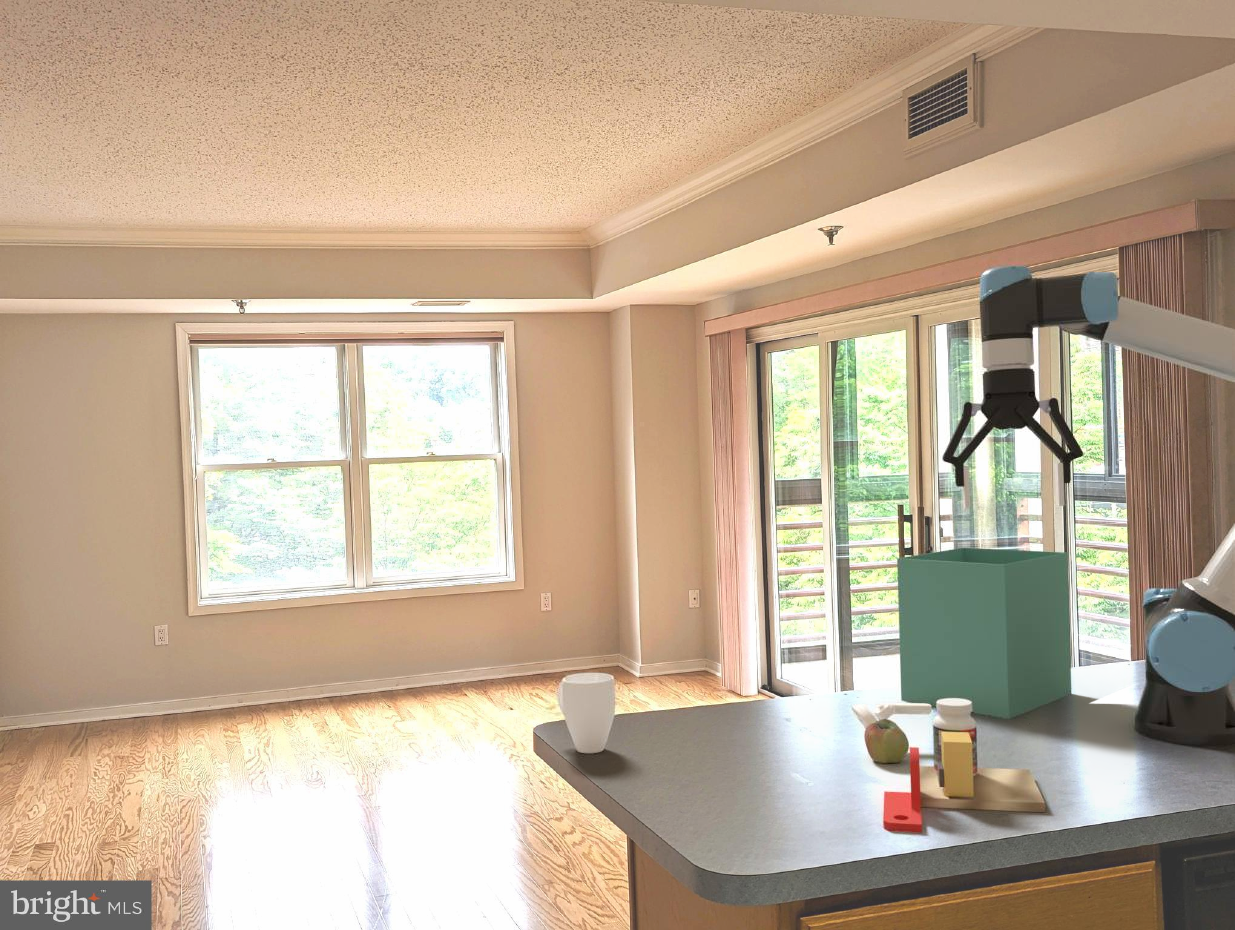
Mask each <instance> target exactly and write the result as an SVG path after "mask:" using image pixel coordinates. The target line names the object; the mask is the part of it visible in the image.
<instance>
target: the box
mask: <svg viewBox="0 0 1235 930" xmlns="http://www.w3.org/2000/svg"><path fill="white" fill-rule="evenodd" d="M1068 554H1069V553H1068V552H1067V551H1066V552H1062V551H1061V552H1060V551H1045V550H1043V551H1041V550H1021V549H1003V548H1002V549H998V548H979V547H958V548H954V549H946V550H940V551H936V552H929V553H923V554H915V555H911V556H904V557H898V558H896V562H897V564H896V565H897V567H896V568H897V594H898V596H897V598H898V603H897V604H898V630H899V631H898V633H899V635H898V636H899V663H900V665H899V666H900V696H901V697H900V699H901V701H902V702H903V701H904V702H907V703H926V704H930V705H931V707H937V703H936V702H937V701H938V700H940V699H946V698H960V699H966V700H969V701H971V702H972V710H973V711H972V712H975V713H974V714H977V713H978V714H977V715H983V714H985V715H984V716H988V715H993V716H992V717H994V716H996V718H1000V717H1002V718H1001V719H1006V718H1010V719H1013V718H1015V717H1018V716H1020V715H1022V714H1024V713H1027V712H1030V711H1033V710H1035V709H1038V708H1040V707H1043V706H1045V705H1048V704H1051V703H1052V702H1055V701H1057V700H1060V699H1062V698H1065V697H1067V696H1070V695H1072V671H1071V670H1072V666H1071V665H1072V662H1071V661H1072V660H1071V632H1070V631H1071V629H1070V626H1071V625H1070V591H1069V590H1070V588H1069V562H1068V561H1069V560H1068V559H1069V557H1068ZM1032 709H1033V710H1032ZM1017 715H1018V716H1017ZM1012 717H1013V718H1012Z"/></svg>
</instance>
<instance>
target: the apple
mask: <svg viewBox="0 0 1235 930" xmlns="http://www.w3.org/2000/svg"><path fill="white" fill-rule="evenodd" d="M863 737H864V742H865V747H866V750H867V752H868V755H869V757H870V758H871V759H872V761H874V762H877V763H881V764H888V763H889V764H890V763H892V764H898V763H900V762H902V760H904V758H905V757H906V755H907V754H908V753H909V750H910V743H909V739H908V737H907V735H906V733H905V732H904V730H903V729H901V728H900V727H899V725H898V724H897V723H896V722H895V721H893V720H891V719H889V718H888V719H882V720H877V721H876V722H874V723H871V724H870V725H868V726H867V728H866V729H865V730H864V735H863Z"/></svg>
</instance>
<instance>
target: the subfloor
mask: <svg viewBox="0 0 1235 930" xmlns="http://www.w3.org/2000/svg"><path fill="white" fill-rule="evenodd" d="M977 768H978V770H977V774H976V776H974V777H973V792H974V797H959V796H945V793H944V789H943V787H939V782H938V774H937V773H936V772H935V770H934V765H920V795H921V808H935V809H936V808H937V809H938V808H940V809H958V810H959V809H960V810H961V809H962V810H963V809H964V810H980V811H981V810H983V811H1007V812H1008V811H1009V812H1025V813H1026V812H1029V813H1030V812H1033V813H1046V802H1045V800H1044V798H1043V796H1042V793H1041V791H1040V789H1039V787H1038V785H1037V783H1036V781H1035V779H1034V777H1033V775H1032V772H1031V771H1030V769H1019V768H1018V769H1017V768H990V767H989V768H985V767H977Z"/></svg>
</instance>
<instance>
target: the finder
mask: <svg viewBox="0 0 1235 930" xmlns="http://www.w3.org/2000/svg"><path fill="white" fill-rule="evenodd" d="M941 750H942V762H938V782H939V787H943V789H944V793H945V796H959V797H974V792H973V757H972V741H971V738H970V735H969V732H941Z"/></svg>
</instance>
